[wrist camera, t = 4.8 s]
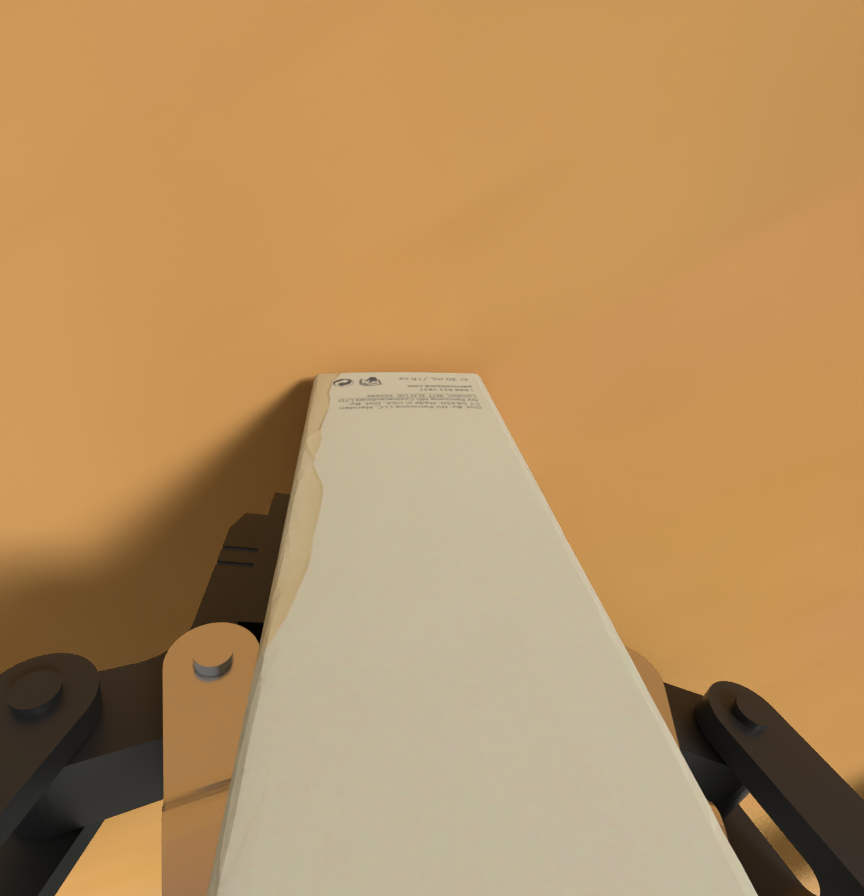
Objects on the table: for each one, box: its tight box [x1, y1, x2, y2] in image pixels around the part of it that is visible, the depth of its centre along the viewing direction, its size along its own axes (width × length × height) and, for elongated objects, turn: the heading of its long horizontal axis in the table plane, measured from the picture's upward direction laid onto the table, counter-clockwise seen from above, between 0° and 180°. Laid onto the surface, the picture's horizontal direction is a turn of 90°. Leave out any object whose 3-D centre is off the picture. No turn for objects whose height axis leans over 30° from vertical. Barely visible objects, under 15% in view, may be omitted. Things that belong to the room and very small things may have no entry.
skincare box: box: [207, 372, 758, 896], centre depth 9 cm, size 6×4×12 cm
